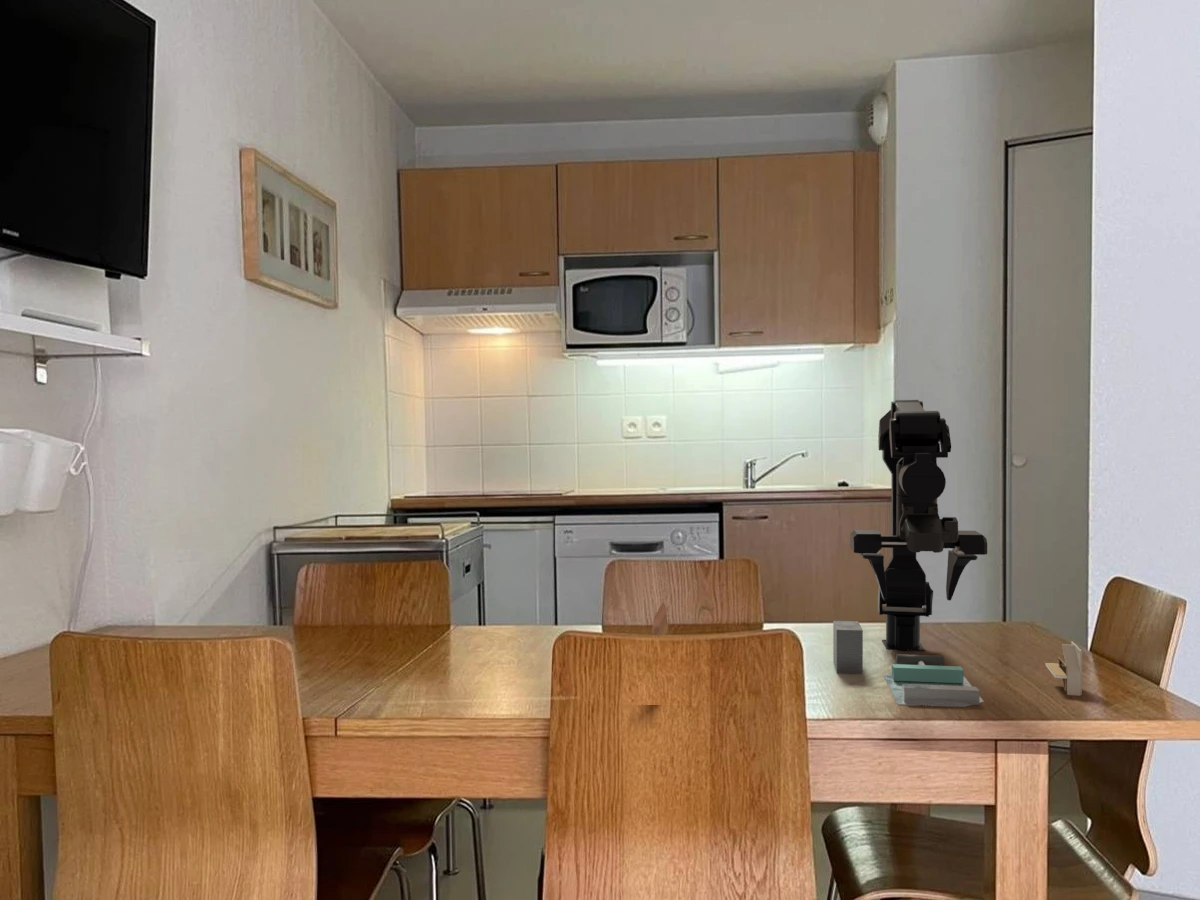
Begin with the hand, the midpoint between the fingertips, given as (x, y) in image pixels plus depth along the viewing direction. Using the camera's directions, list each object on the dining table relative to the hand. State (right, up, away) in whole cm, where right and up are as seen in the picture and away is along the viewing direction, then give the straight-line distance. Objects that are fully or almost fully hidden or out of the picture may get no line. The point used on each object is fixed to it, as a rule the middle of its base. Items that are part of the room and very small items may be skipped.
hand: (916, 599), depth 134 cm
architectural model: (+21, -14, -3) cm, 25 cm away
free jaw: (+3, -13, +5) cm, 14 cm away
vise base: (+2, -13, -3) cm, 14 cm away
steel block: (-7, -13, +12) cm, 19 cm away
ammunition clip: (-38, -14, +3) cm, 41 cm away
